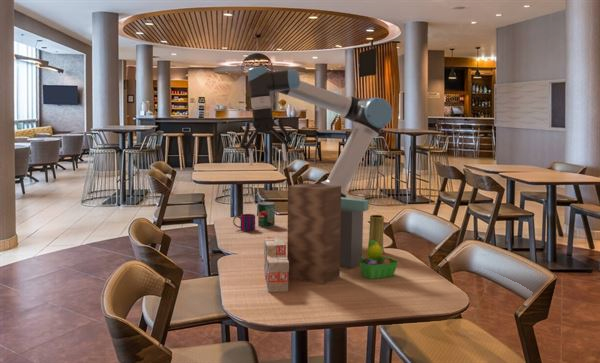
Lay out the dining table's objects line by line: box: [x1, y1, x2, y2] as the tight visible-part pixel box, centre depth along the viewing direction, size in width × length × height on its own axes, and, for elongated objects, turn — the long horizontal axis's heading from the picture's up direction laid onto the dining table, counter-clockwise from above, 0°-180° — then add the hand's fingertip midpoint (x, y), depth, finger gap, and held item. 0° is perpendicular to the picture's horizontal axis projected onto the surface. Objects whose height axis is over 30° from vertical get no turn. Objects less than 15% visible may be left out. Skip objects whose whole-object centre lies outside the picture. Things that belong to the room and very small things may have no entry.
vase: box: [368, 214, 385, 254], centre depth 207 cm, size 6×6×14 cm
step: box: [340, 209, 364, 269], centre depth 191 cm, size 12×9×20 cm
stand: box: [286, 182, 341, 285], centre depth 174 cm, size 14×10×30 cm
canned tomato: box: [257, 201, 276, 228], centre depth 255 cm, size 8×8×11 cm
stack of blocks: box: [263, 236, 289, 293], centre depth 170 cm, size 21×6×12 cm, turn 7°
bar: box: [341, 197, 370, 212], centre depth 192 cm, size 26×4×4 cm, turn 58°
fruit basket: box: [359, 240, 399, 280], centre depth 178 cm, size 11×9×11 cm
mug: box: [232, 213, 256, 232], centre depth 246 cm, size 7×10×7 cm
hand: (268, 163), depth 208 cm, fingers open, 13 cm apart
